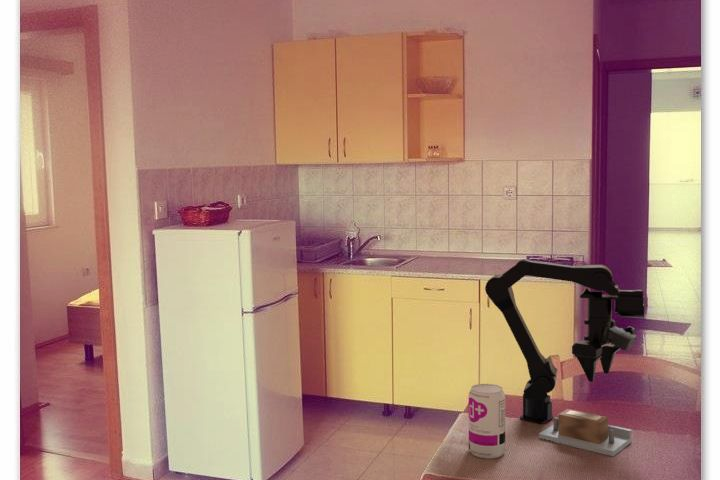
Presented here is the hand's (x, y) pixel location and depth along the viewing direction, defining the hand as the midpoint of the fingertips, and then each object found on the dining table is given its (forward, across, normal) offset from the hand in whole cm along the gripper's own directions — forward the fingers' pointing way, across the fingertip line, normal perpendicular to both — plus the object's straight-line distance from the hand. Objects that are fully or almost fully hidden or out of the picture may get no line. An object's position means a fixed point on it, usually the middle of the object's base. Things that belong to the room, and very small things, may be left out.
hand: (598, 377), depth 177 cm
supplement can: (+12, -34, +12) cm, 38 cm away
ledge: (+12, -13, -2) cm, 18 cm away
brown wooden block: (+11, -14, -2) cm, 17 cm away
